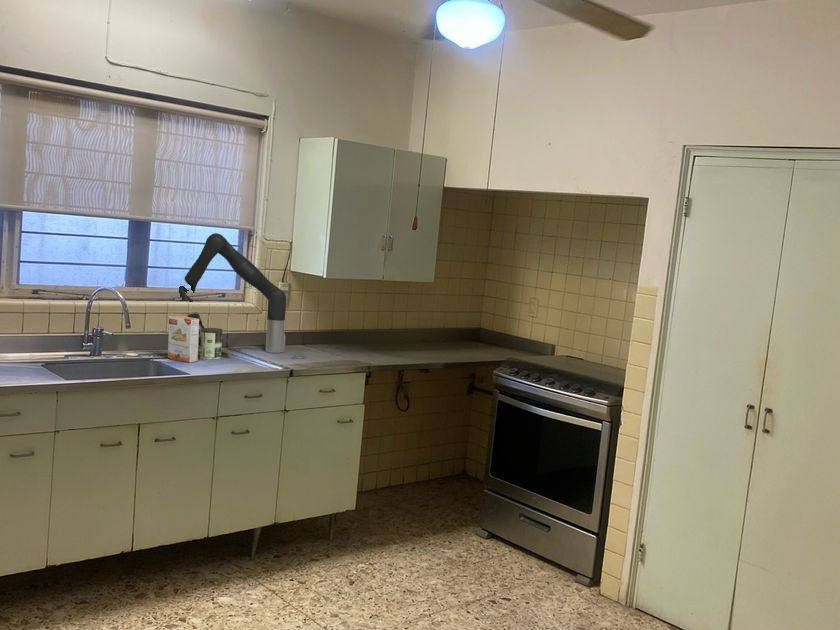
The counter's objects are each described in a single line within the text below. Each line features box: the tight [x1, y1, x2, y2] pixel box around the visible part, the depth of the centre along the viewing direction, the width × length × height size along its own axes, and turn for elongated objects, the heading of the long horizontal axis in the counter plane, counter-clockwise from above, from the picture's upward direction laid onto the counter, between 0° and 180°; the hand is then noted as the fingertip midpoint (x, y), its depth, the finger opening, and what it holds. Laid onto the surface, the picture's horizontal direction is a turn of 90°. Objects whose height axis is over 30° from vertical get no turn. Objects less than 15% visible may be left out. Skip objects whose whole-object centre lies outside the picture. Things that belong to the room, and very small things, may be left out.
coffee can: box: [199, 327, 224, 360], centre depth 388 cm, size 10×10×14 cm
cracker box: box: [167, 314, 199, 364], centre depth 375 cm, size 14×6×21 cm, turn 62°
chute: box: [198, 349, 231, 361], centre depth 389 cm, size 16×10×2 cm, turn 131°
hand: (201, 344), depth 396 cm, fingers closed
